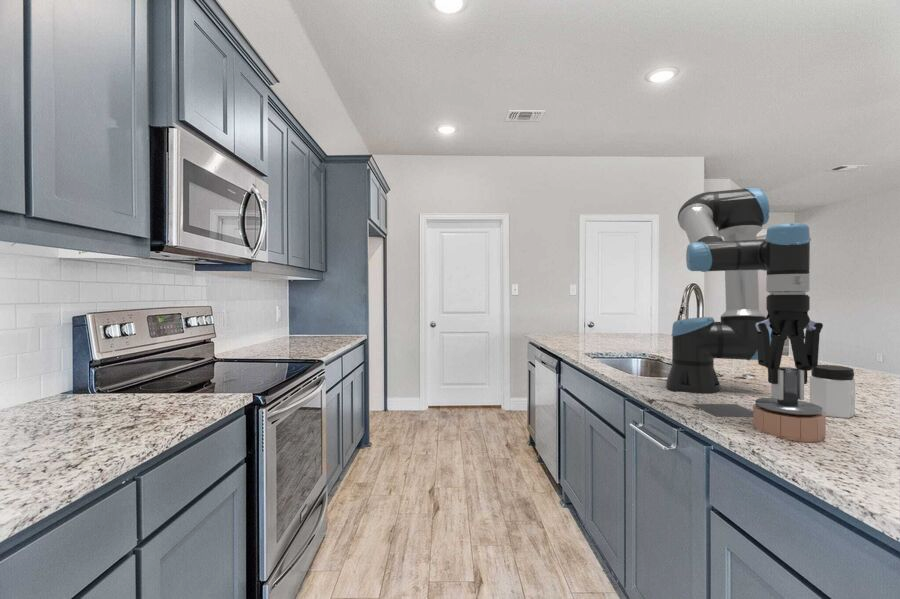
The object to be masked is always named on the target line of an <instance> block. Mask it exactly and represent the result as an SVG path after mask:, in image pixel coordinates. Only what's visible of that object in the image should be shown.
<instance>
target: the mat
mask: <svg viewBox="0 0 900 599" xmlns="http://www.w3.org/2000/svg"><path fill="white" fill-rule="evenodd" d="M691 405H693V406H694V407H696V408H698V409H700V410H702V411H704V412H707V413H708V414H710V415H712V416H713V417H716V418H718V417H719V418H720V417H722V418H725V417H726V418H753V410H751V409H748V408H746V407H744V406H742V405H740V404H737V403H732V404H729V403H692V404H691Z"/></svg>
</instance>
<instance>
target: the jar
mask: <svg viewBox="0 0 900 599" xmlns="http://www.w3.org/2000/svg"><path fill="white" fill-rule="evenodd" d="M854 370H855V369H854V368H852V367H848V366H842V365H835V364H833V365H831V364H818V365H817V367H812V369H811V370H810V371H811V375H810V376H809V403H812V404H816V405H818V406H820V407H822V413H823V414H824V415H825V416H826V417H830V418H831V417H832V418H841V419H842V418H843V419H850V418H853V417H854V416H856V378H854V377H855V371H854Z"/></svg>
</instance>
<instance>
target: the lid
mask: <svg viewBox="0 0 900 599" xmlns="http://www.w3.org/2000/svg"><path fill="white" fill-rule="evenodd" d="M779 370H783V400H779V399H776V398H773V397H759V398H757V399H755V404H756V405H757V406H758V407H761V408H764V409H767V410H771V411H776V412H781V413H788V414H798V415H817V414H821V413H822V407H820V406H818V405H816V404H812V403H810V402H807V401H805V400H799V399H798V369H797V368H796V367H789V366H780V368H779Z"/></svg>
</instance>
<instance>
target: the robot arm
mask: <svg viewBox="0 0 900 599" xmlns="http://www.w3.org/2000/svg"><path fill="white" fill-rule="evenodd" d="M769 219H770V204H769V200H768V196H767V194H766V192H765V191H764V190H763V189H762V188H758V187H755V188H754V187H752V188H748V187H747V188H746V187H744V188H739V189H738V188H736V189H727V190H716V191H706V192H701V193H699V194H696V195H694V196H692V197H690V198H689V199H688V200H687V201H685V202H684V203H683V205H681V207H680V208H679V210H678V213H677V222H678V225H679V227H680V228H681V230H683V231H685V233H686V237H687V240H688V241H689V244H688V245H687V247H686V254H685V262H686V268H687V269H688V271H691V272H702V273H707V272H723V271H724V288H725V291H724V292H725V293H724V294H725V312H723V314H721V315H720V321H715V319H714V317H712V316H704V317H703V316H702V317H692V318H691V317H690V318H684V319H683V318H682V319H678V320H676V321H674V322H673V324H672V331H671V337H672V343H671V344H672V347H671V348H672V349H671V350H672V352H671V353H672V354H671V357H672V358H671V360H672V362H671V367H670V370H669V372H668V376H667V378H666V384H665V386H666V389H667V390H670V391H673V392H677V393H681V392H682V393H688V394H689V393H690V394H702V395H703V394H704V395H705V394H710V395H711V394H717V393H721V383H720V381H719V379H718V376H717V373H716V370H715V365H714V362H715V359H721V360H722V359H723V360H742V361H743V360H744V361H756V360H757V362H758V363H757V364H758V365H760V366H761V367H765V368H767V382H768V383H769V384H770V385H771V389H770V390H771V391H770V393H771V396H770V398H776V399H779V400H783V370H779V368H780V367H781V363H782V357H783V354H784V353H783V351H784V347H785V341H786V340H787V339H789V341H790V345H791V346H790V348H791V351H792V357H793V361H794V368H796V369H798V401H805V385H807V384H808V372H810V371H811V369H812V367H817V365H819V364H818V363H819V350H820V349H819V347H820V346H819V345H820V335H821V331H822V329H823V326H824V324H823V323H822V322H815V321H813V320H811V318H810V316H809V311H810V310H811V309H810V308H811V305H810V304H811V303H810V300H811V299H810V298H811V297H810V296H809V294H807V293H809V292H810V269H811V268H810V266H811V265H810V264H811V263H810V262H811V260H810V259H811V258H810V257H811V255H810V254H811V253H810V251H811V250H810V248H811V247H810V246H811V245H810V244H811V243H810V242H811V240H812V239H811V237H810V236H811V234H810V227H809V225H808V224H807V223H804V222H791V223H781V224H775V225H771V226H769V227H768V228H767V230H766V236H765V238H764V239H758V238H757V237H758V236H757V235H758V234H759V233H760V232H761V231H762V230H763V226H764V225H767V223H768V222H769ZM759 271H765V272H766V283H765V284H766V285H765V286H766V287H765V291H766V293H769V294H768V295H766V304H765V306H766V307H765V309H766V311H767V315H765V314H764V313H763V312H761V311H760V298H759V297H760V293H759V292H760V291H759Z"/></svg>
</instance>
